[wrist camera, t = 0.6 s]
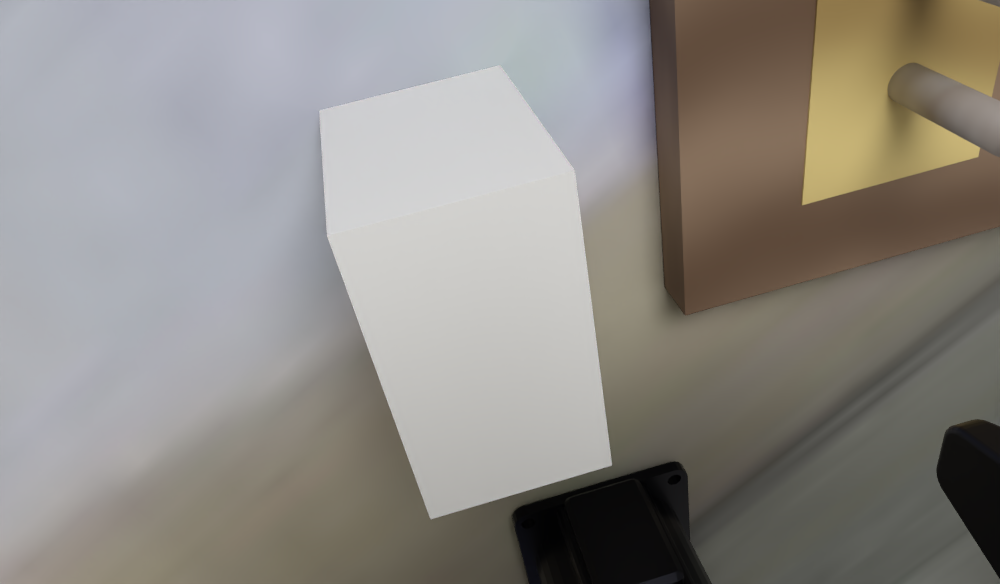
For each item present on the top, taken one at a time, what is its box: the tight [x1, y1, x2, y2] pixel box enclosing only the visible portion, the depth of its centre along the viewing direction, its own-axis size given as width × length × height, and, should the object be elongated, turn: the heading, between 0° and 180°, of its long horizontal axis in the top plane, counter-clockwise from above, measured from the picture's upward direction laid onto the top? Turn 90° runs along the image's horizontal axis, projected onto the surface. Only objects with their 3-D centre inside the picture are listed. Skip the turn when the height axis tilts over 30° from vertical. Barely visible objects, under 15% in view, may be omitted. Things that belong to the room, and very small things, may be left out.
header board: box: [650, 0, 1000, 315], centre depth 17 cm, size 14×12×5 cm
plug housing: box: [319, 65, 612, 519], centre depth 18 cm, size 8×4×6 cm, turn 10°
